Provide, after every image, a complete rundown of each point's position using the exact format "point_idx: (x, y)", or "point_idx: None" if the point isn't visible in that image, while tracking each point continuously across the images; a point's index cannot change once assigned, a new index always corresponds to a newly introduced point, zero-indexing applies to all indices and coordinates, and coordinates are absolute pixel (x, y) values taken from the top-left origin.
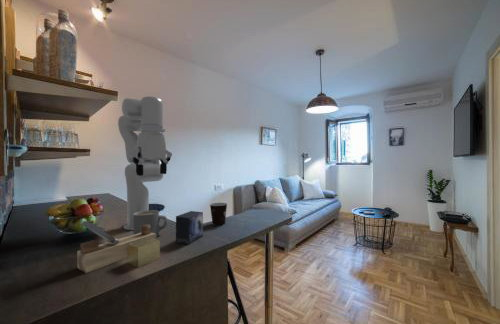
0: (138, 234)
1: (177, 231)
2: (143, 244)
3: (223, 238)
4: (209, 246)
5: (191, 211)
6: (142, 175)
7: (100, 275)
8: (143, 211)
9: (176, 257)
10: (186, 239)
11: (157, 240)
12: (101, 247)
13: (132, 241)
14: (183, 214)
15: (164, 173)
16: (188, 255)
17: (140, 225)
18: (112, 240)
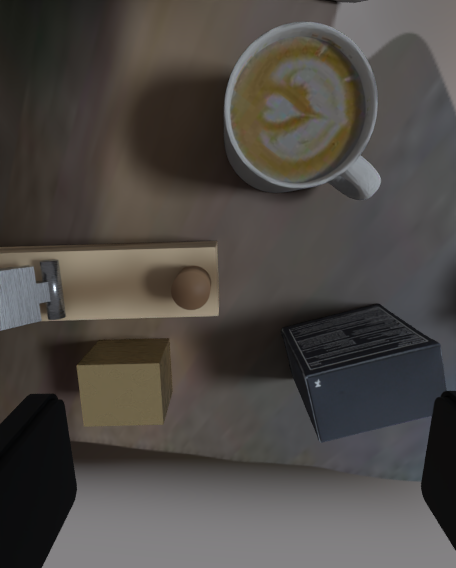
0: (170, 263)
1: (291, 355)
2: (108, 415)
3: (400, 435)
4: (317, 445)
5: (427, 360)
6: (69, 489)
7: (23, 352)
8: (323, 31)
9: (204, 424)
10: (295, 381)
11: (158, 419)
12: None
13: (118, 317)
14: (351, 380)
15: (423, 491)
16: (232, 442)
17: (234, 159)
18: (45, 302)
